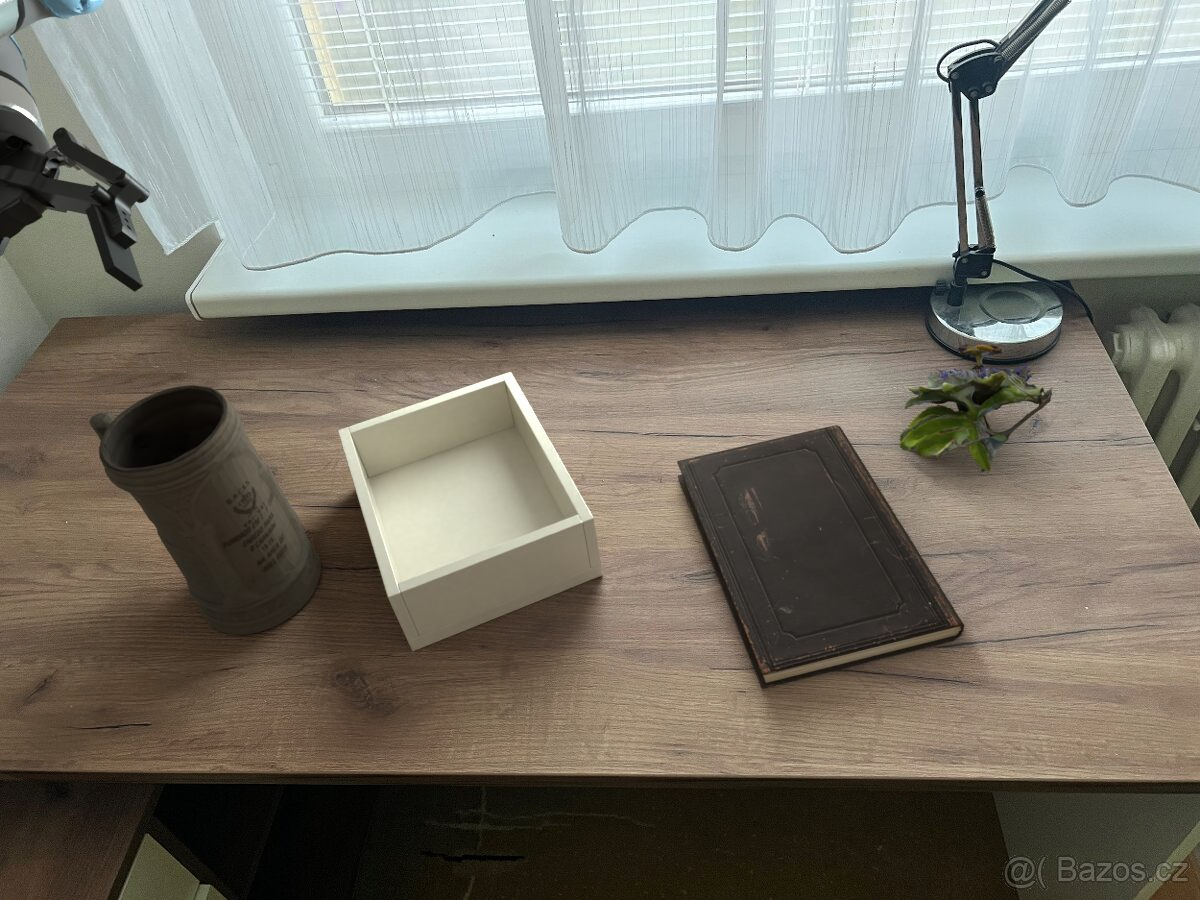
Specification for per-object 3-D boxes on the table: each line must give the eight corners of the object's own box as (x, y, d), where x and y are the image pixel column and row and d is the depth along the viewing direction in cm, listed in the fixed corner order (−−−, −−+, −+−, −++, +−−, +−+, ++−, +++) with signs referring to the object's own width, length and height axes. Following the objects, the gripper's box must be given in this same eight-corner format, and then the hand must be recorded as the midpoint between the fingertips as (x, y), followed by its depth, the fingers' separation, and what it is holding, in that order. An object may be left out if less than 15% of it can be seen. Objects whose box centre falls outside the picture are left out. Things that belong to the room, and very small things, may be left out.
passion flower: (952, 454, 88) (1036, 358, 83) (1001, 520, 79) (1098, 417, 73) (864, 412, 85) (945, 309, 79) (905, 476, 75) (999, 365, 70)
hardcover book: (761, 689, 66) (762, 673, 64) (678, 477, 82) (677, 460, 81) (961, 639, 67) (967, 621, 65) (839, 440, 83) (842, 423, 82)
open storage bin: (412, 652, 71) (387, 597, 66) (361, 485, 86) (337, 430, 80) (603, 575, 75) (594, 517, 70) (523, 427, 89) (510, 371, 84)
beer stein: (350, 548, 80) (256, 379, 66) (291, 647, 73) (171, 480, 59) (214, 531, 85) (100, 370, 71) (145, 622, 77) (4, 463, 64)
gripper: (155, 92, 73) (226, 263, 64) (-86, 254, 74) (-51, 446, 65) (84, 22, 67) (152, 202, 57) (-180, 201, 68) (-155, 406, 58)
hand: (45, 332), depth 61 cm, fingers open, 13 cm apart
